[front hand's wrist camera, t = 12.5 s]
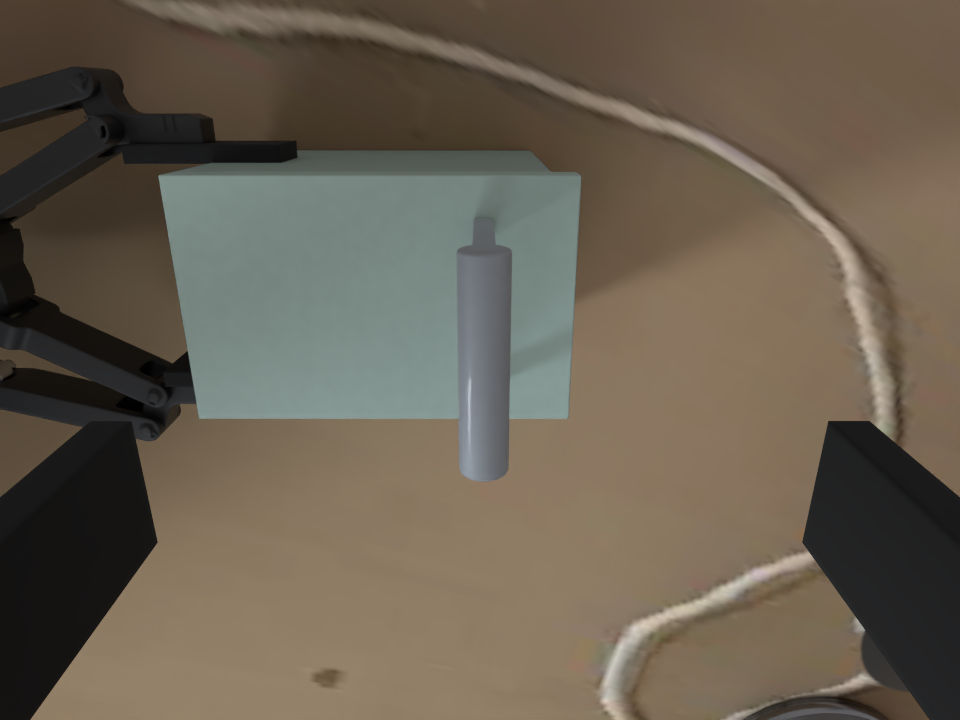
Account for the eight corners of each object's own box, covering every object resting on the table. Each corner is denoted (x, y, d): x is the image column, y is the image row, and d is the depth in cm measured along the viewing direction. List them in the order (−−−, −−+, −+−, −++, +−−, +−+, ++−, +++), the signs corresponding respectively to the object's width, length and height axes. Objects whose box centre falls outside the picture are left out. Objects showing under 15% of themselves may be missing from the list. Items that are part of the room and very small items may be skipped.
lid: (576, 171, 24) (620, 204, 17) (564, 406, 28) (596, 519, 20) (172, 171, 24) (35, 203, 17) (210, 405, 28) (109, 519, 20)
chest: (530, 150, 35) (551, 171, 24) (526, 323, 38) (542, 405, 28) (264, 150, 35) (173, 171, 24) (283, 323, 38) (210, 405, 28)
